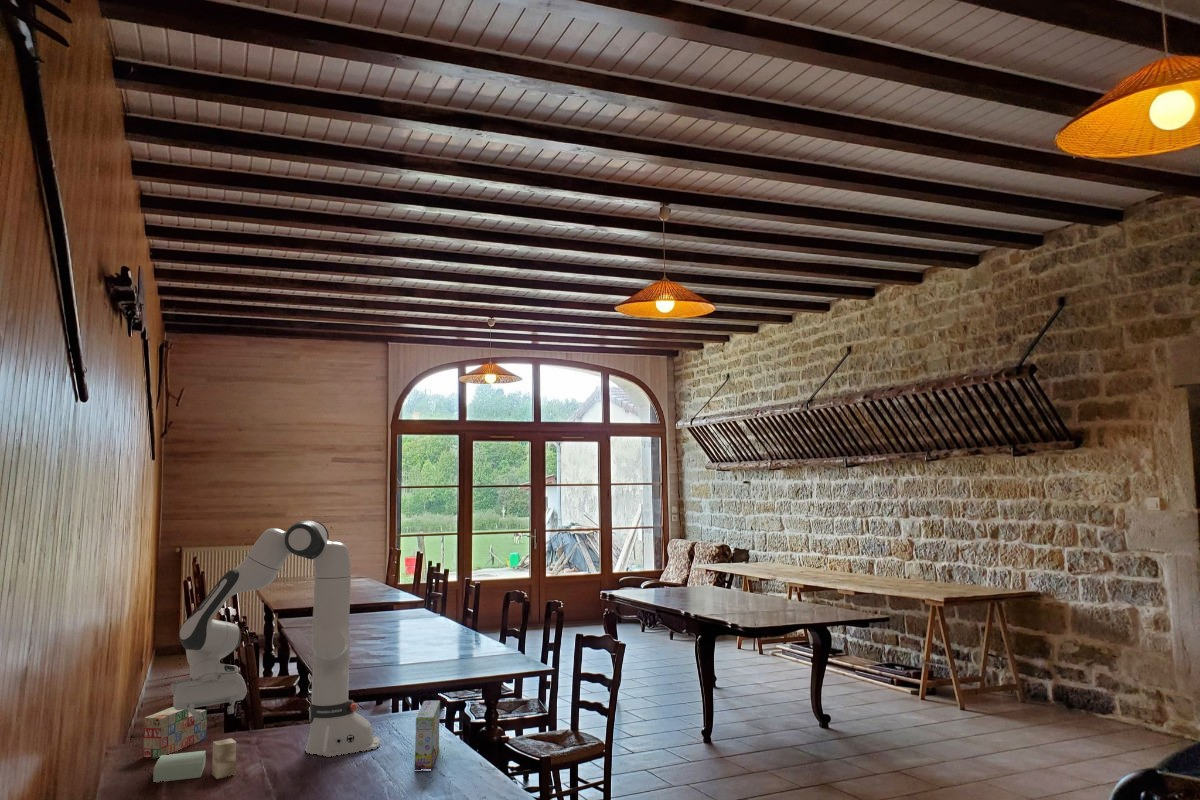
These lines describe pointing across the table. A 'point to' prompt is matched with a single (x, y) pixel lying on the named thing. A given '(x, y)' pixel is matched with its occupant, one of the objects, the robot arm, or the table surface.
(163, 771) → the plinth
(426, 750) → the snack box
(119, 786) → the table surface
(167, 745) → the stack of blocks
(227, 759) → the maple block
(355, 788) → the table surface
